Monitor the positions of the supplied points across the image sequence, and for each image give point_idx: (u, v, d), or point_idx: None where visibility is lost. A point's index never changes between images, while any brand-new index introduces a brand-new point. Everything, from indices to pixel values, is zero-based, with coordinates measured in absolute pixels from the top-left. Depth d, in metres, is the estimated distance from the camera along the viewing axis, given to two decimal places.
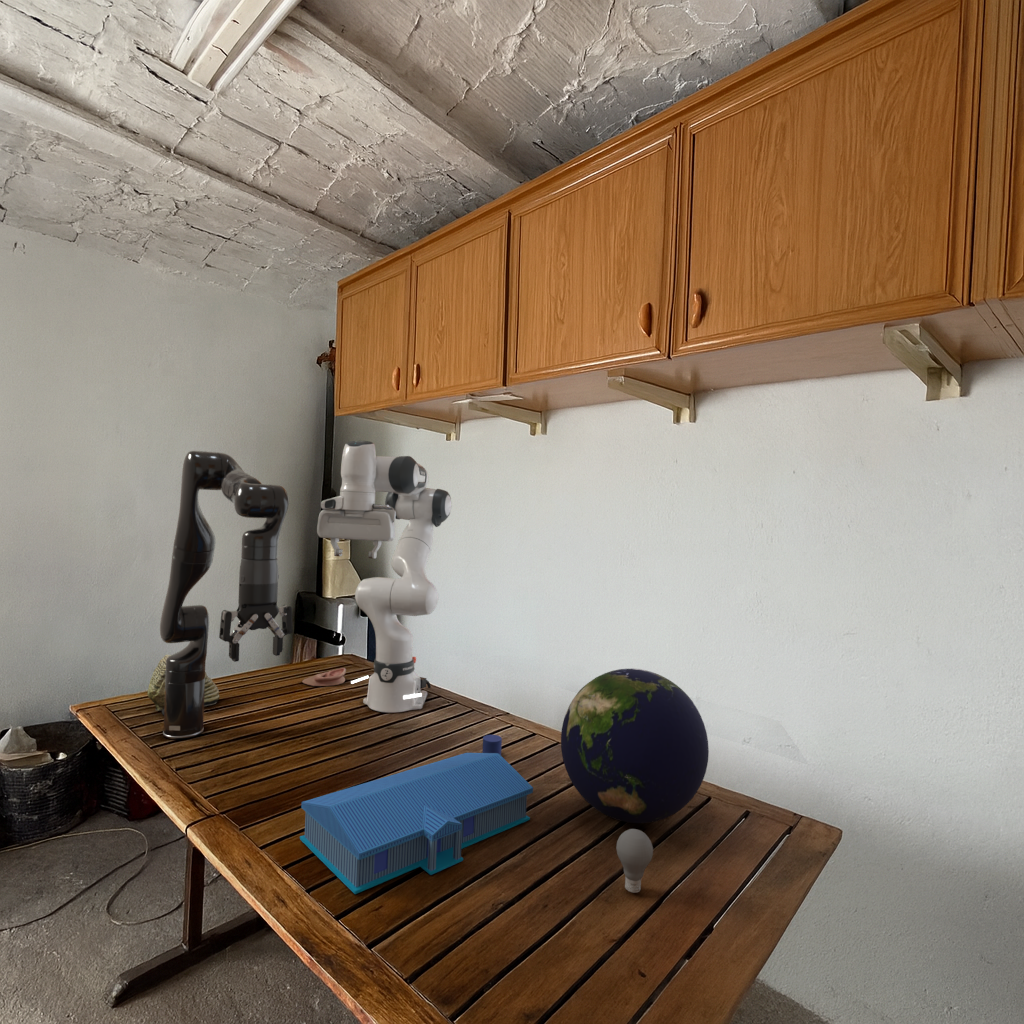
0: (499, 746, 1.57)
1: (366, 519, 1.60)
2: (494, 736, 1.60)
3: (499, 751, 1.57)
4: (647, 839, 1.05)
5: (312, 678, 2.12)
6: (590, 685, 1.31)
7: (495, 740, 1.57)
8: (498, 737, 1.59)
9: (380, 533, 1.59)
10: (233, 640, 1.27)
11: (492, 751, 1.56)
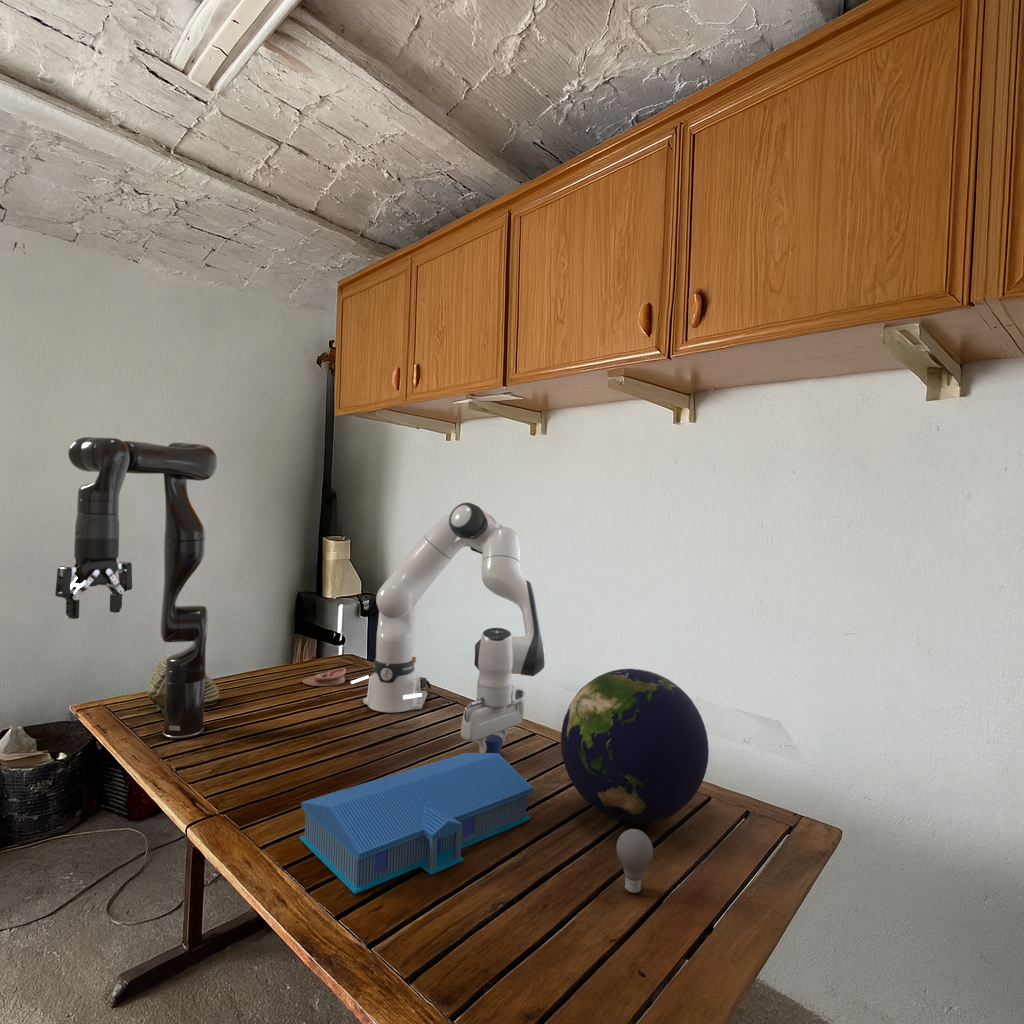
0: (499, 746, 1.57)
1: None
2: (494, 736, 1.60)
3: (499, 751, 1.57)
4: (647, 839, 1.05)
5: (312, 678, 2.12)
6: (590, 685, 1.31)
7: (495, 740, 1.57)
8: (498, 737, 1.59)
9: None
10: None
11: (492, 751, 1.56)
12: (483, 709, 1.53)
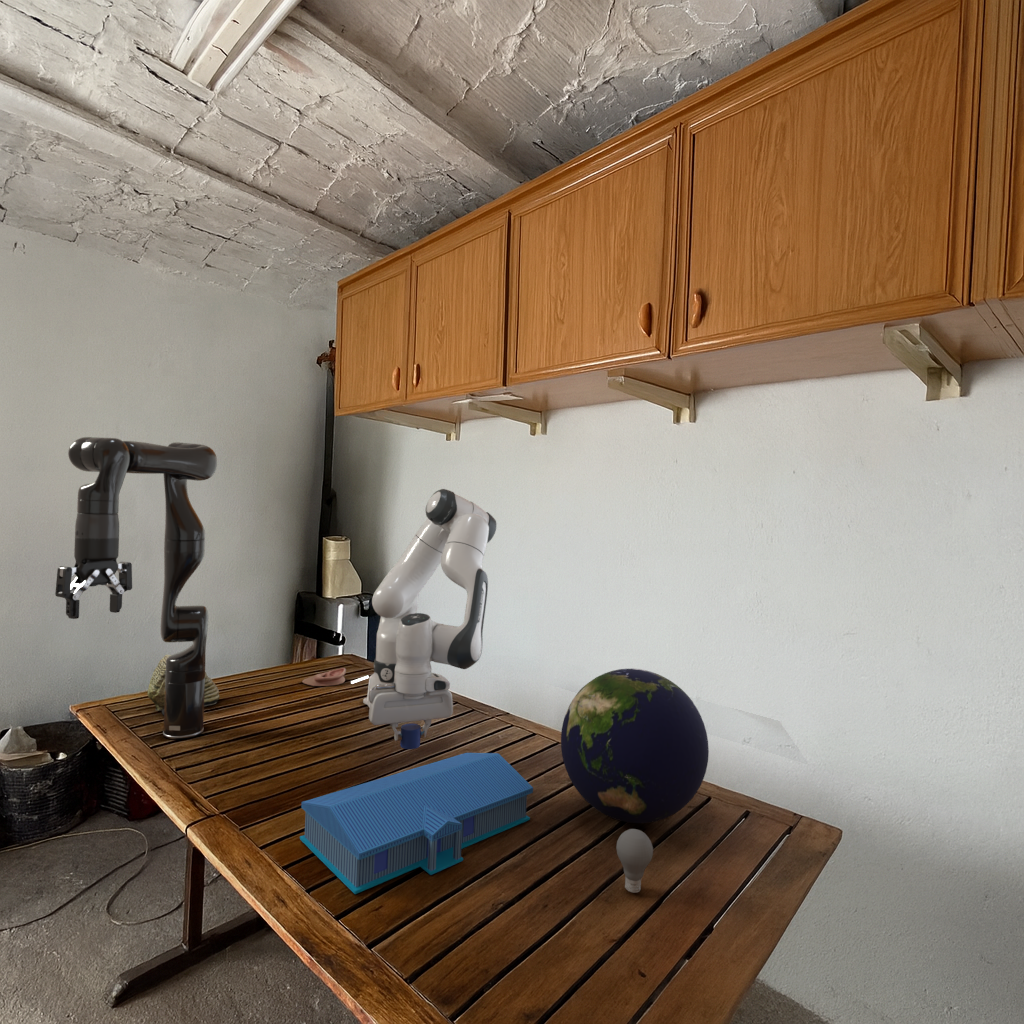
0: (413, 736, 1.52)
1: None
2: (414, 726, 1.54)
3: (413, 741, 1.52)
4: (647, 839, 1.05)
5: (312, 678, 2.12)
6: (590, 685, 1.31)
7: (410, 729, 1.52)
8: (417, 727, 1.53)
9: None
10: None
11: (405, 740, 1.51)
12: (390, 694, 1.50)
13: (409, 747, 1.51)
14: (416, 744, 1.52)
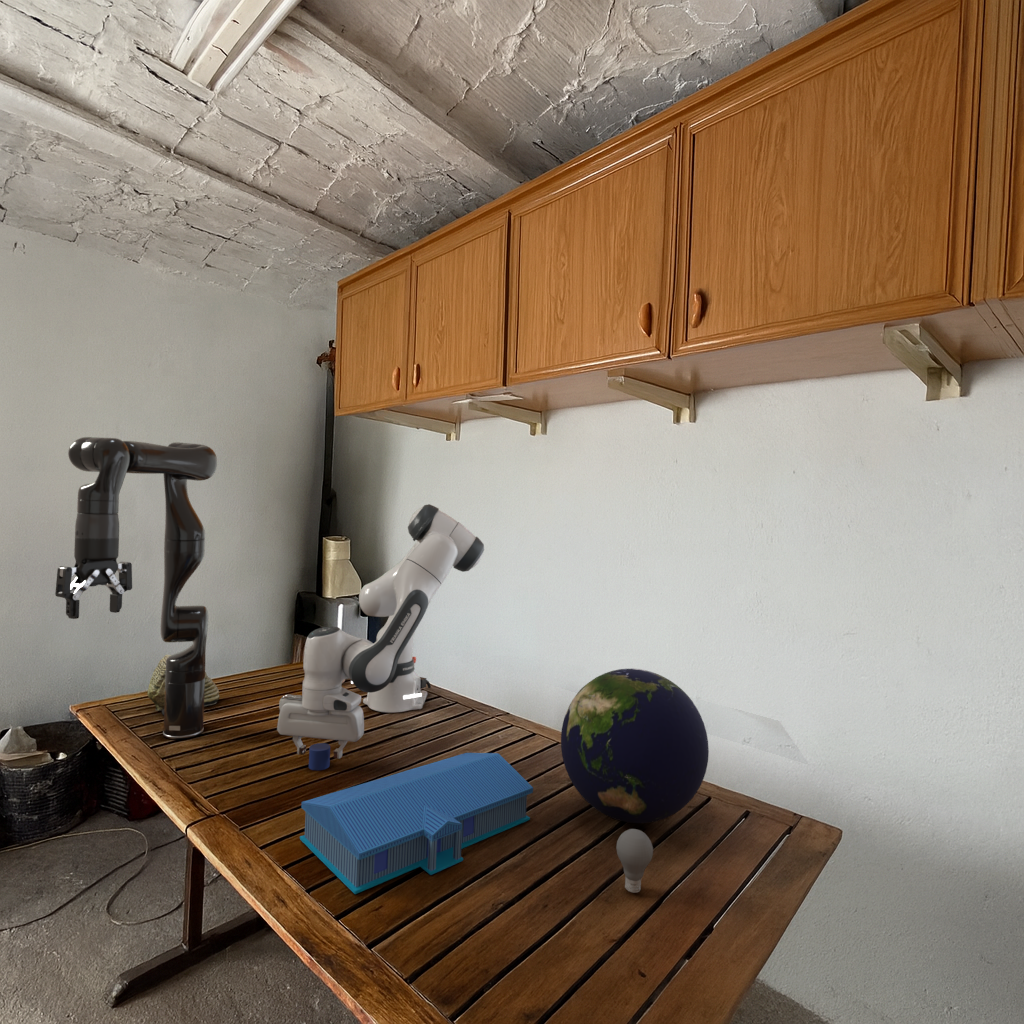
0: (315, 757, 1.46)
1: None
2: (324, 746, 1.49)
3: (315, 762, 1.46)
4: (647, 839, 1.05)
5: None
6: (590, 685, 1.31)
7: (314, 749, 1.47)
8: (324, 748, 1.48)
9: None
10: None
11: (309, 759, 1.47)
12: (294, 705, 1.47)
13: (311, 767, 1.47)
14: (319, 766, 1.46)
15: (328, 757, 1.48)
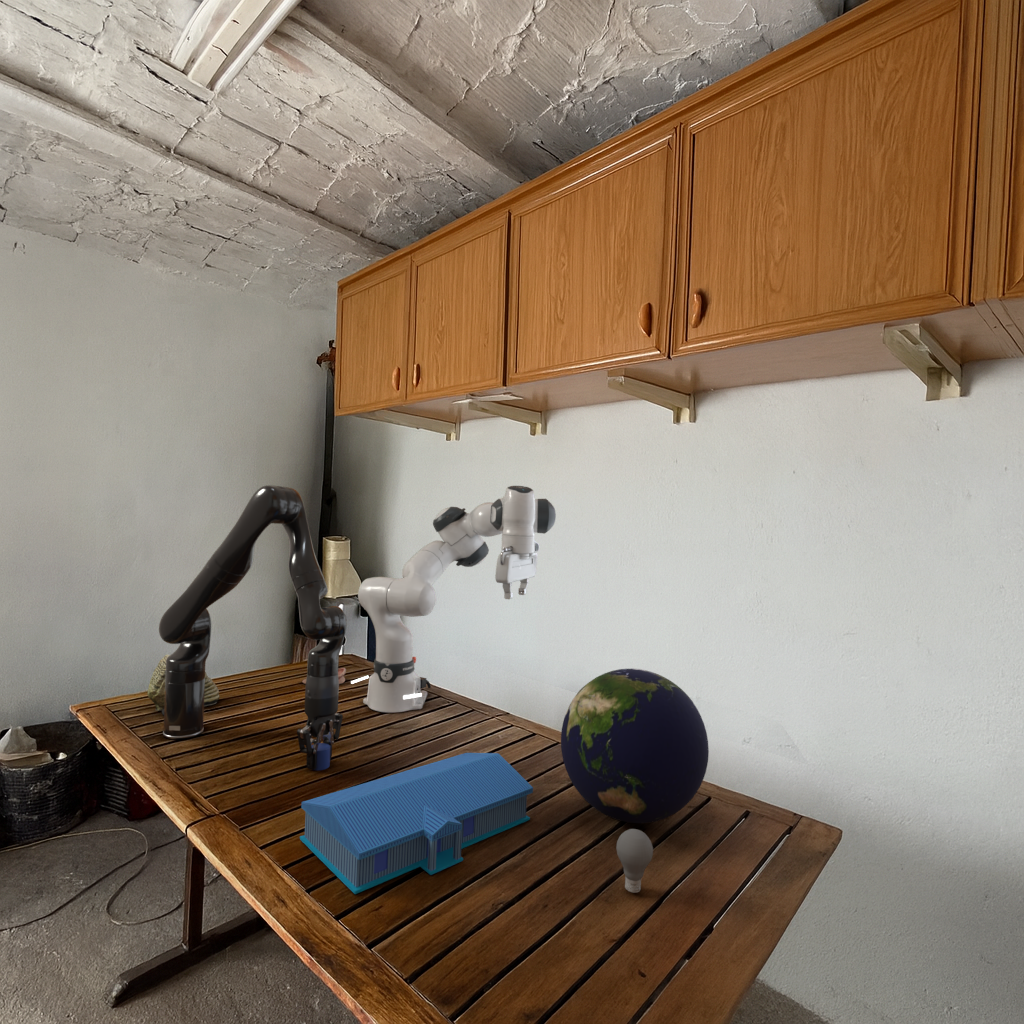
0: None
1: None
2: (324, 746, 1.49)
3: None
4: (647, 839, 1.05)
5: None
6: (590, 685, 1.31)
7: None
8: (324, 748, 1.48)
9: None
10: None
11: None
12: (514, 555, 1.65)
13: None
14: (319, 766, 1.46)
15: (328, 757, 1.48)
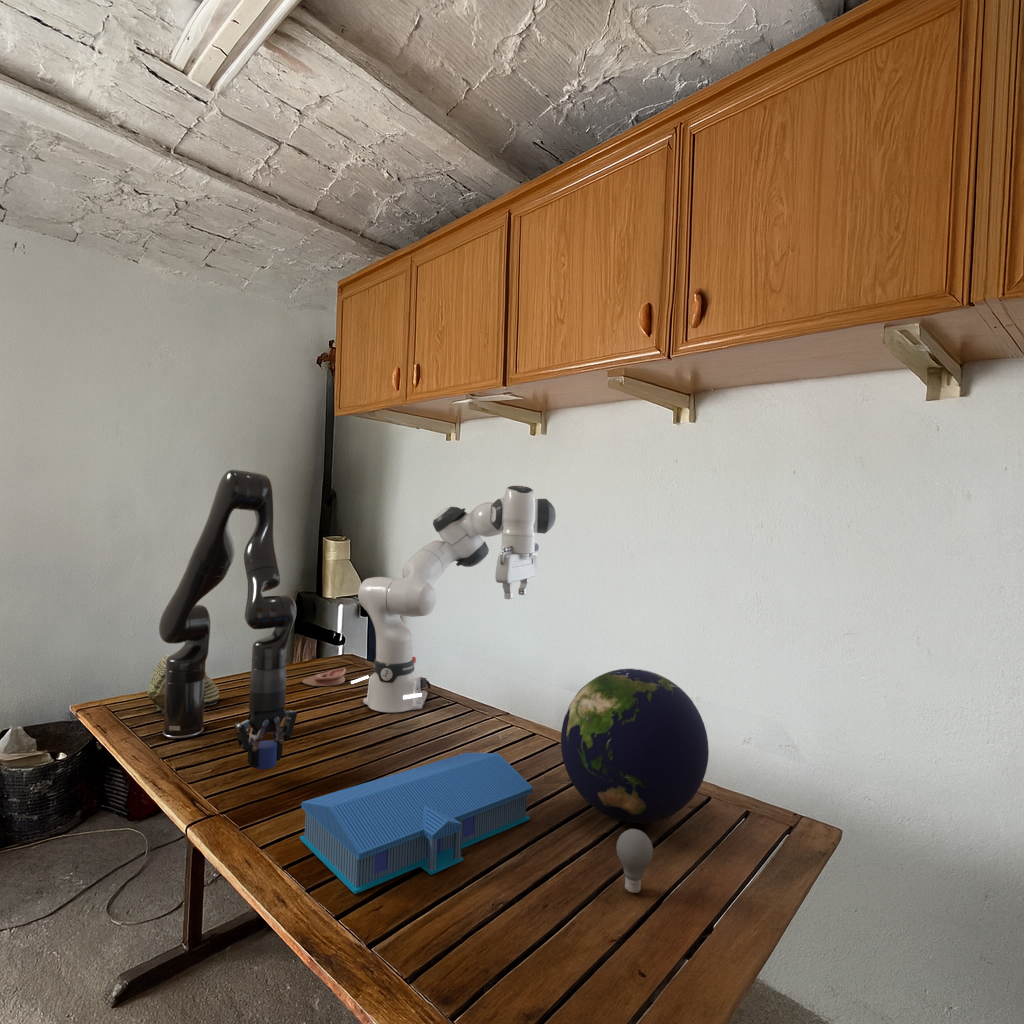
0: None
1: None
2: (270, 744, 1.39)
3: None
4: (647, 839, 1.05)
5: (312, 678, 2.12)
6: (590, 685, 1.31)
7: (258, 746, 1.38)
8: (267, 746, 1.38)
9: None
10: None
11: None
12: (514, 555, 1.65)
13: None
14: (260, 765, 1.37)
15: (272, 756, 1.38)
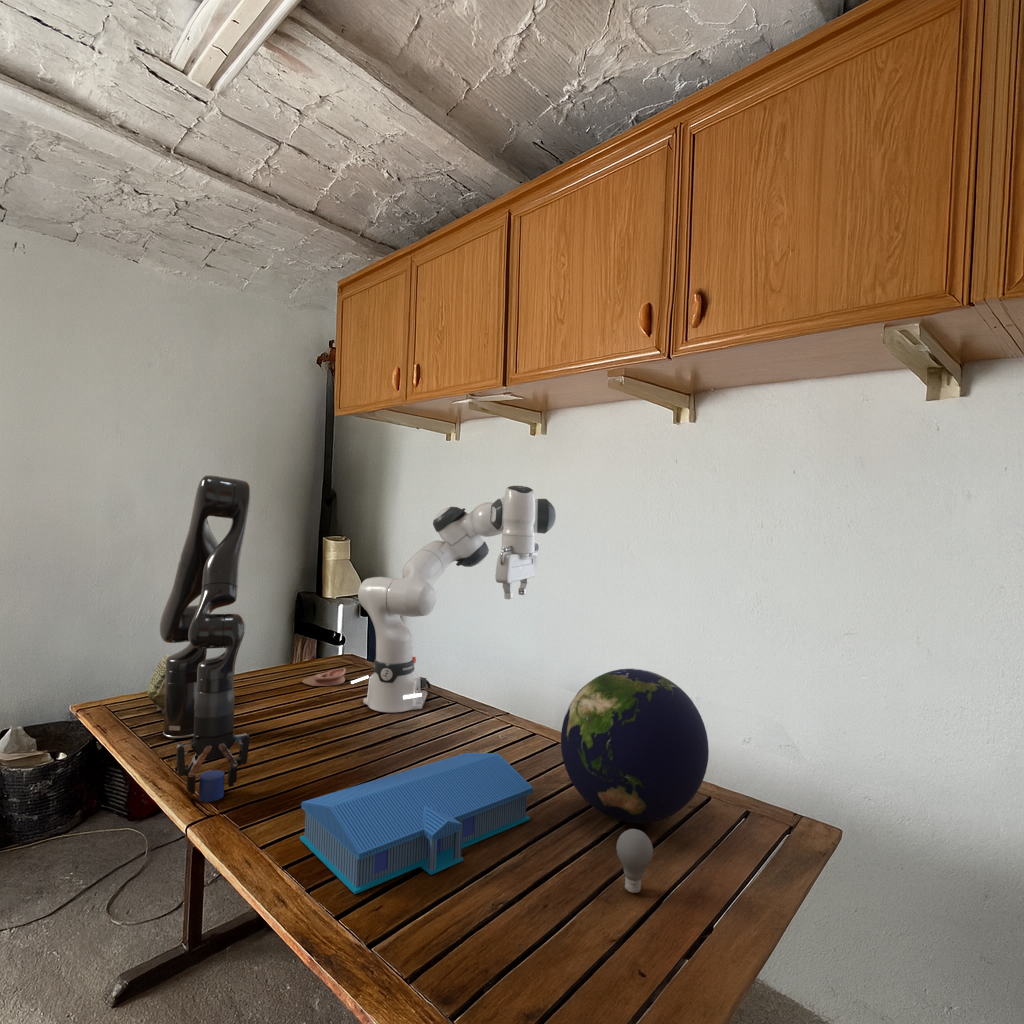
0: (200, 785, 1.30)
1: None
2: (215, 775, 1.31)
3: (200, 791, 1.30)
4: (647, 839, 1.05)
5: (312, 678, 2.12)
6: (590, 685, 1.31)
7: (203, 776, 1.31)
8: (211, 778, 1.30)
9: None
10: None
11: None
12: (514, 555, 1.65)
13: (199, 796, 1.31)
14: (203, 797, 1.30)
15: (215, 789, 1.30)
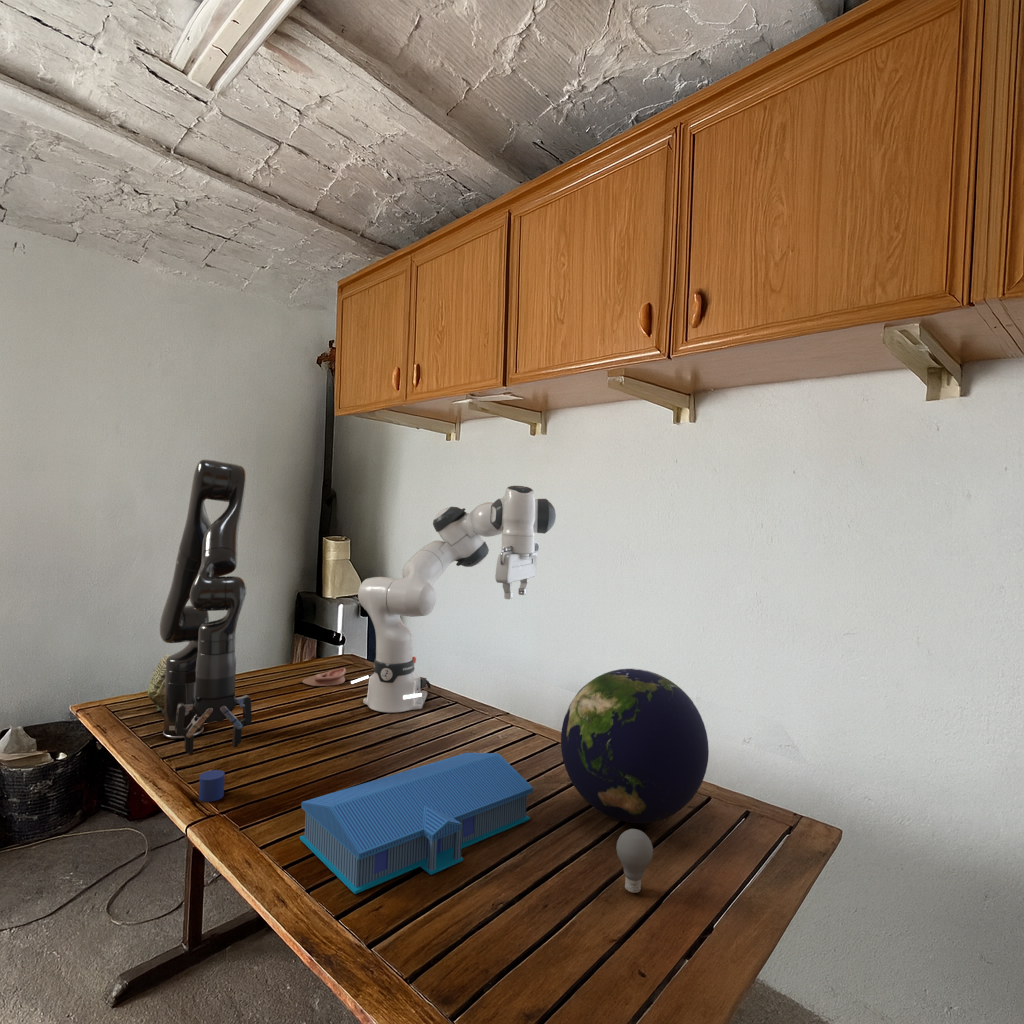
0: (200, 785, 1.30)
1: None
2: (215, 775, 1.31)
3: (200, 791, 1.30)
4: (647, 839, 1.05)
5: (312, 678, 2.12)
6: (590, 685, 1.31)
7: (203, 776, 1.31)
8: (211, 778, 1.30)
9: None
10: None
11: None
12: (514, 555, 1.65)
13: (199, 796, 1.31)
14: (203, 797, 1.30)
15: (215, 789, 1.30)
